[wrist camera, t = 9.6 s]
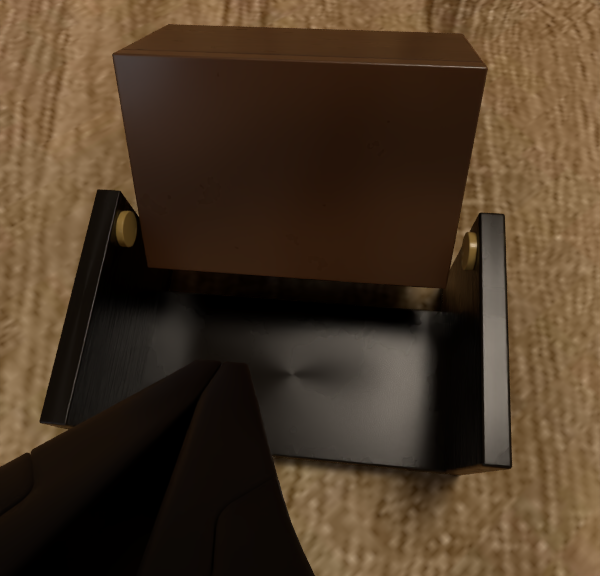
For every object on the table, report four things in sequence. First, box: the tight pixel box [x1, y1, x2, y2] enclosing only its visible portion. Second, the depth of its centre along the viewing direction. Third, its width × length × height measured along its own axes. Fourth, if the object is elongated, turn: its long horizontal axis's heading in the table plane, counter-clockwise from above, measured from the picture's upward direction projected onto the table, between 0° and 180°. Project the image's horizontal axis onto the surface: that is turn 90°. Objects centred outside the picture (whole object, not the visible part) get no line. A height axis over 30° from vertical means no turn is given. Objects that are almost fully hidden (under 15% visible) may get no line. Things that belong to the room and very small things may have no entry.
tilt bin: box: [112, 24, 488, 289], centre depth 19 cm, size 7×10×5 cm
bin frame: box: [40, 190, 512, 475], centre depth 19 cm, size 8×13×6 cm, turn 85°
